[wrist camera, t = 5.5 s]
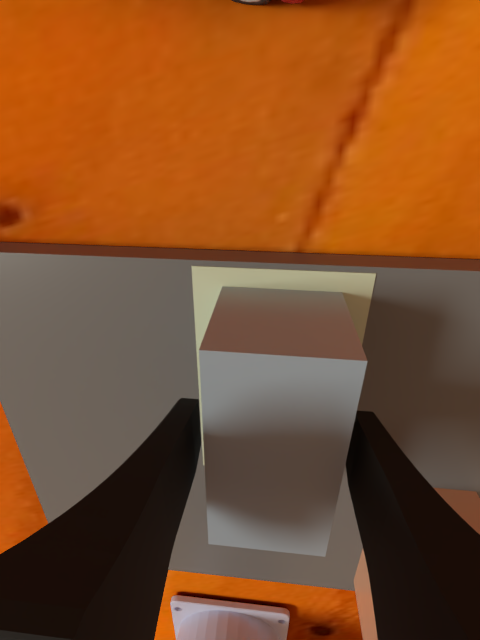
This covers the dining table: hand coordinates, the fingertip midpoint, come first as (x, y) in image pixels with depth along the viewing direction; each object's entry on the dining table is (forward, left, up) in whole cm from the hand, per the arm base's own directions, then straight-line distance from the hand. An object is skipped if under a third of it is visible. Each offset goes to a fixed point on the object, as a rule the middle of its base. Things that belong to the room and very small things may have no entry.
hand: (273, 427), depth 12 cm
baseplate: (-4, 0, -3) cm, 6 cm away
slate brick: (0, 0, -2) cm, 2 cm away
